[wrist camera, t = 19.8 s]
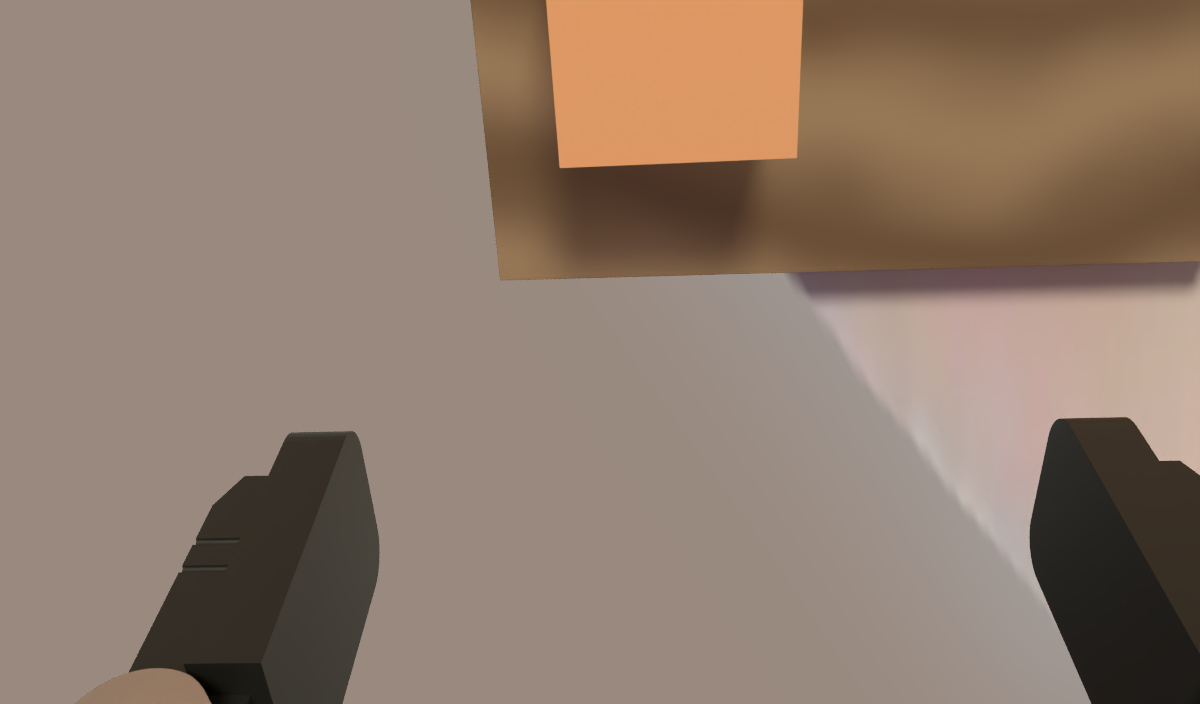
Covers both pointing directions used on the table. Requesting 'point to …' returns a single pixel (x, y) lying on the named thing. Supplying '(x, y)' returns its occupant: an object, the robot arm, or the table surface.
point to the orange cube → (675, 80)
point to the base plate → (881, 148)
